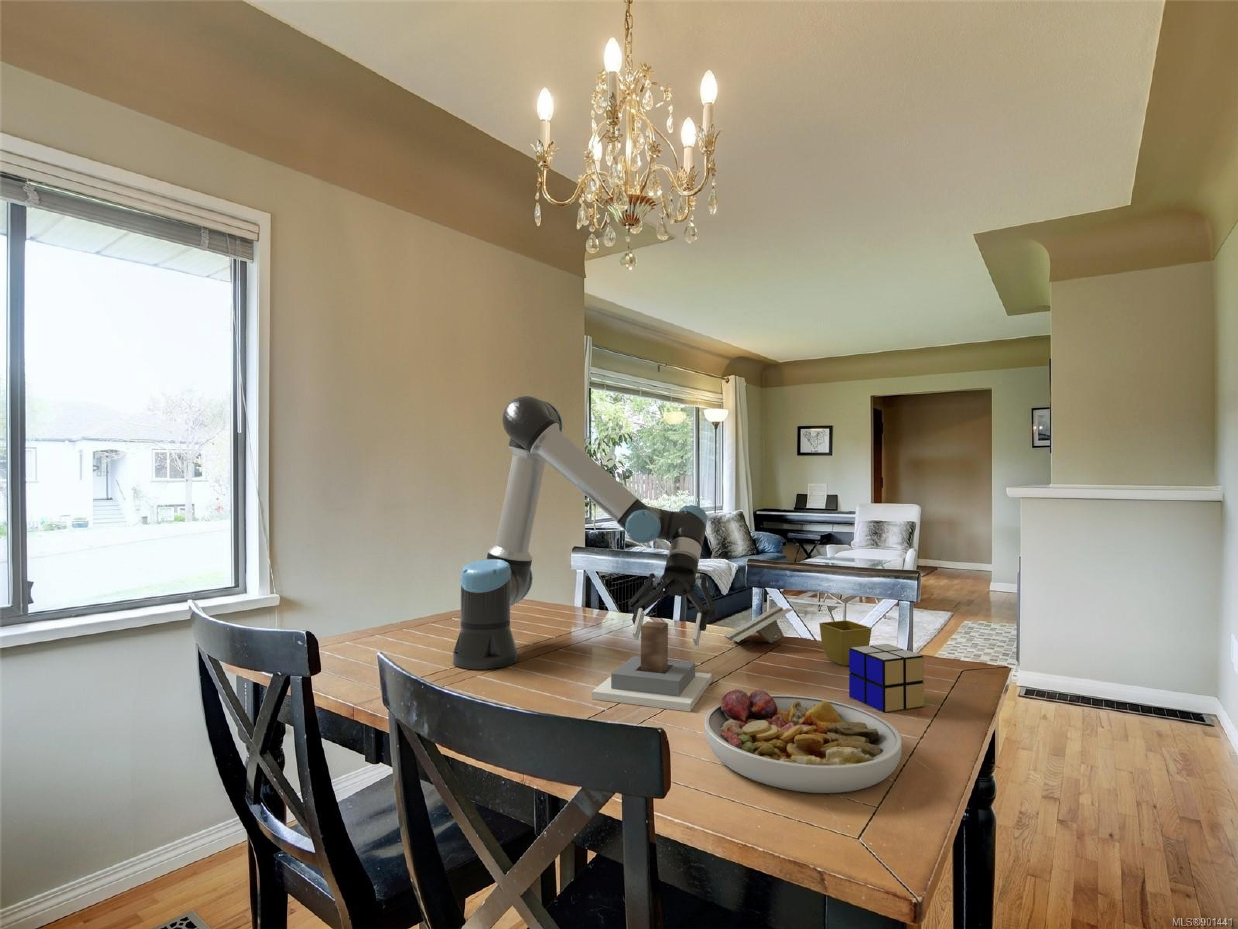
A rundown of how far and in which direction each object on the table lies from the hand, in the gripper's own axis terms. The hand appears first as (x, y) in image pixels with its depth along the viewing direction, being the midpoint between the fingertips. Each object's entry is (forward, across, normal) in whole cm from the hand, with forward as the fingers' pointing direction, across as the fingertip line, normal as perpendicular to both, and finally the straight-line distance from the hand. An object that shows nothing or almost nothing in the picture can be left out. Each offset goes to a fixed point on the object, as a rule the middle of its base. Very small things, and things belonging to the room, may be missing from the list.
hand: (664, 639), depth 143 cm
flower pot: (-14, -36, -27) cm, 47 cm away
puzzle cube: (+4, -44, -9) cm, 46 cm away
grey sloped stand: (-22, -14, -36) cm, 44 cm away
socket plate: (+11, 0, -2) cm, 11 cm away
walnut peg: (+10, 0, -1) cm, 10 cm away
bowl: (+27, -31, +14) cm, 43 cm away
